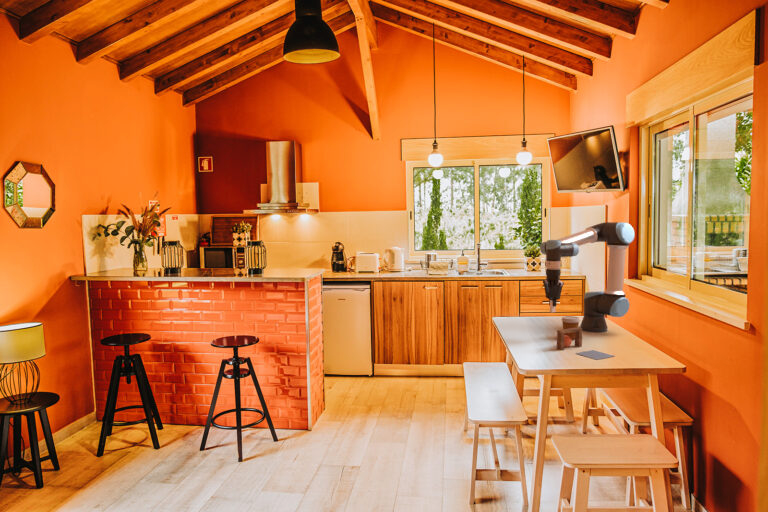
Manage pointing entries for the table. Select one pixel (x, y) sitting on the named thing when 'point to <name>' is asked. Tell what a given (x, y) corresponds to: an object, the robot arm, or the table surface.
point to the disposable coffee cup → (570, 325)
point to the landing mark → (595, 354)
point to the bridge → (561, 332)
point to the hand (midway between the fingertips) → (552, 311)
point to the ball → (567, 341)
